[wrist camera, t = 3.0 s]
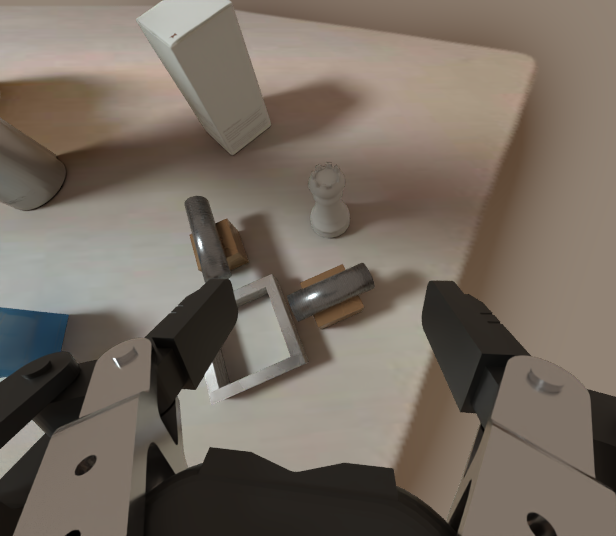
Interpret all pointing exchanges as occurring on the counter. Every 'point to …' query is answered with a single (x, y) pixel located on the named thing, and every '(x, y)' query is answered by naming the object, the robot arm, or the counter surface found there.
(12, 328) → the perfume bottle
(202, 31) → the supplement box
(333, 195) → the rook chess piece
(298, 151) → the counter surface
